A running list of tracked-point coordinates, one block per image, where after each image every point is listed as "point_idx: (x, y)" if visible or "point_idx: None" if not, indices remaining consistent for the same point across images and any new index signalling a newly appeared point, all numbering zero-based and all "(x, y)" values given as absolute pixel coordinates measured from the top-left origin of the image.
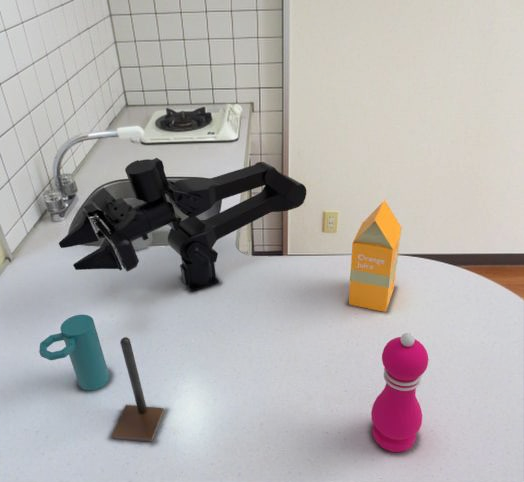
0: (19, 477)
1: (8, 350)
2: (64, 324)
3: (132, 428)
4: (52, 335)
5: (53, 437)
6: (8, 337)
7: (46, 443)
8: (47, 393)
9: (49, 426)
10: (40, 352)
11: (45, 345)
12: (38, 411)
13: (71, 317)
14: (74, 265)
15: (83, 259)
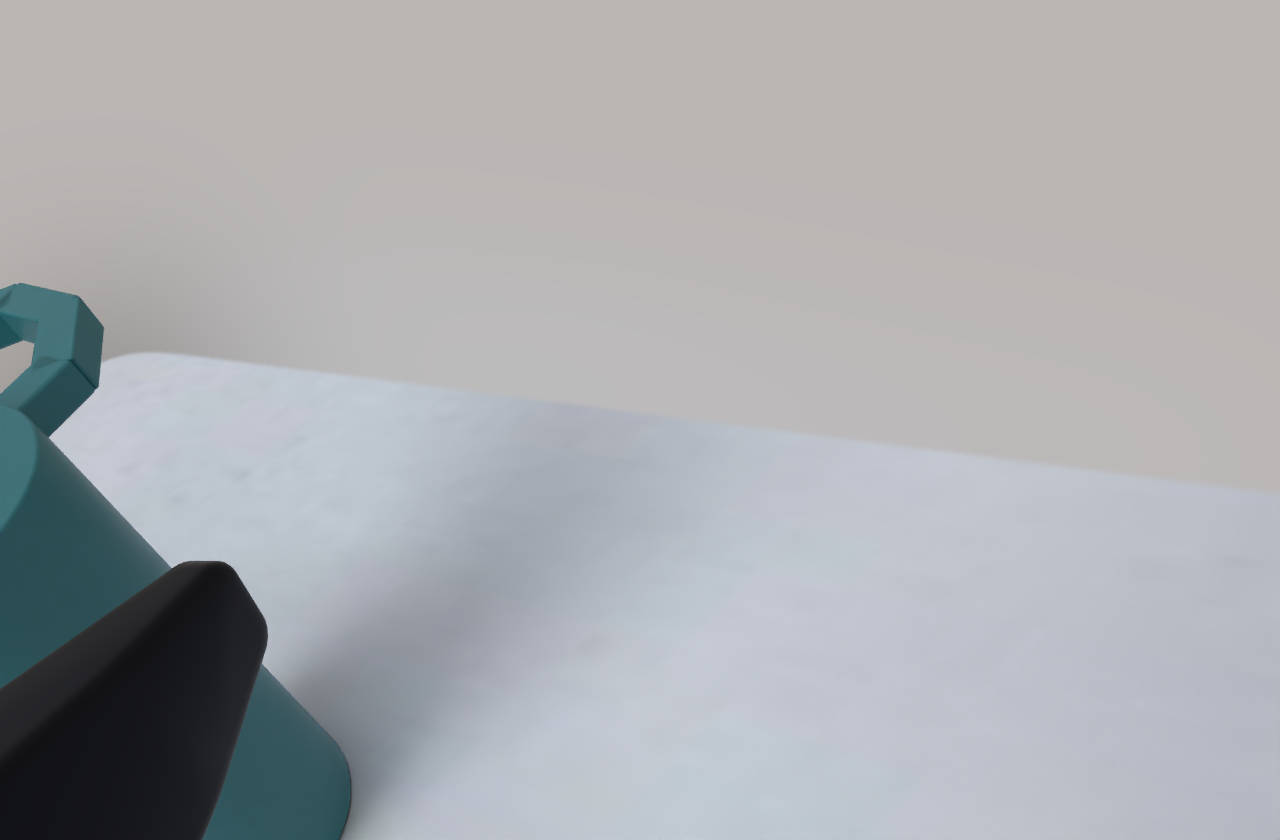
0: (130, 387)
1: (971, 470)
2: (6, 438)
3: None
4: (55, 368)
5: (150, 518)
6: (1137, 492)
7: (154, 489)
8: (409, 564)
9: (216, 519)
10: (10, 287)
11: (27, 318)
12: (340, 502)
13: (9, 504)
14: (182, 569)
15: (9, 704)
